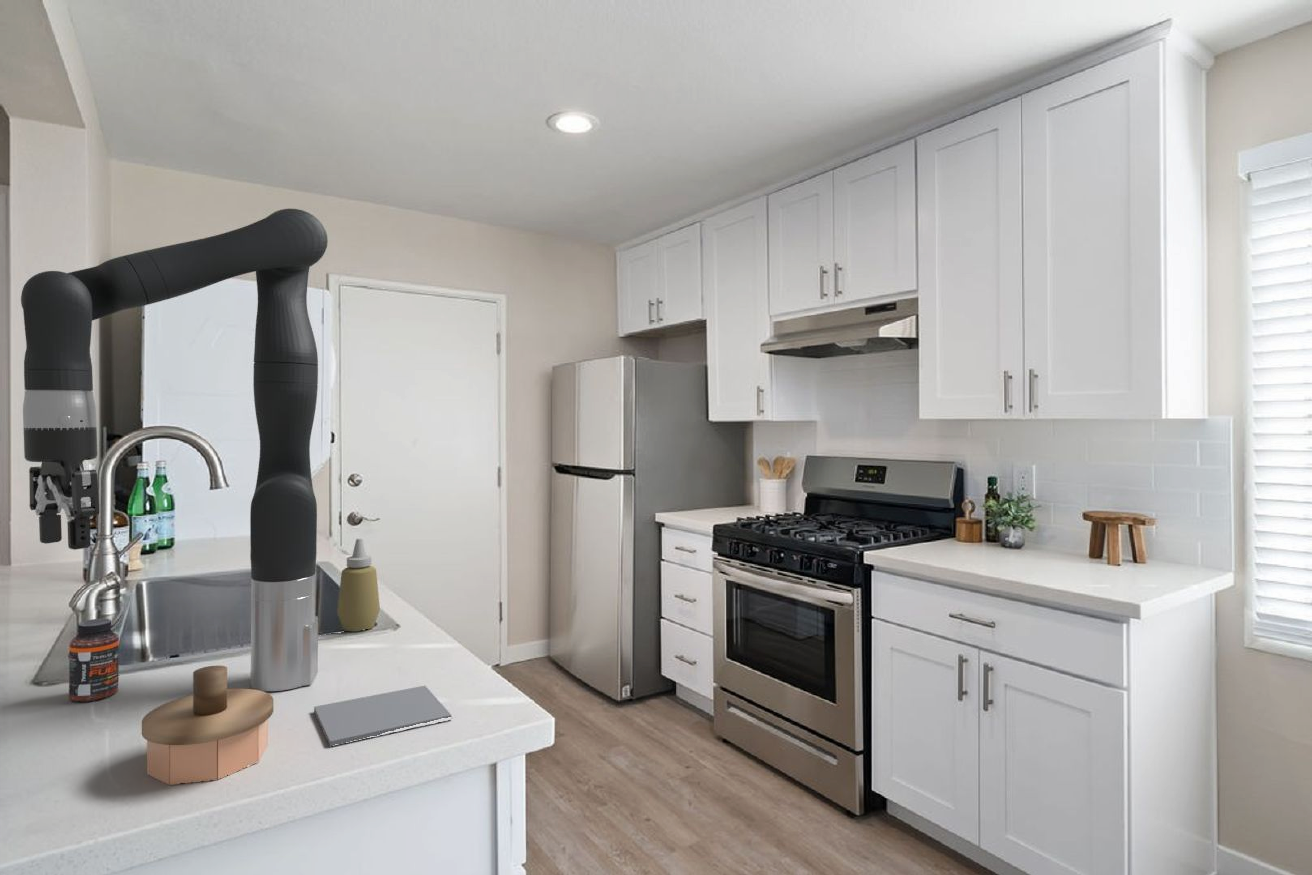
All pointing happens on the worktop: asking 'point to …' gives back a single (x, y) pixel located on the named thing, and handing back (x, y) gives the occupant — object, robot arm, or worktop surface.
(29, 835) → the worktop surface
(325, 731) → the mat
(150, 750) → the bowl
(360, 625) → the squeeze bottle
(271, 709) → the lid
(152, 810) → the worktop surface
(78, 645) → the supplement bottle
